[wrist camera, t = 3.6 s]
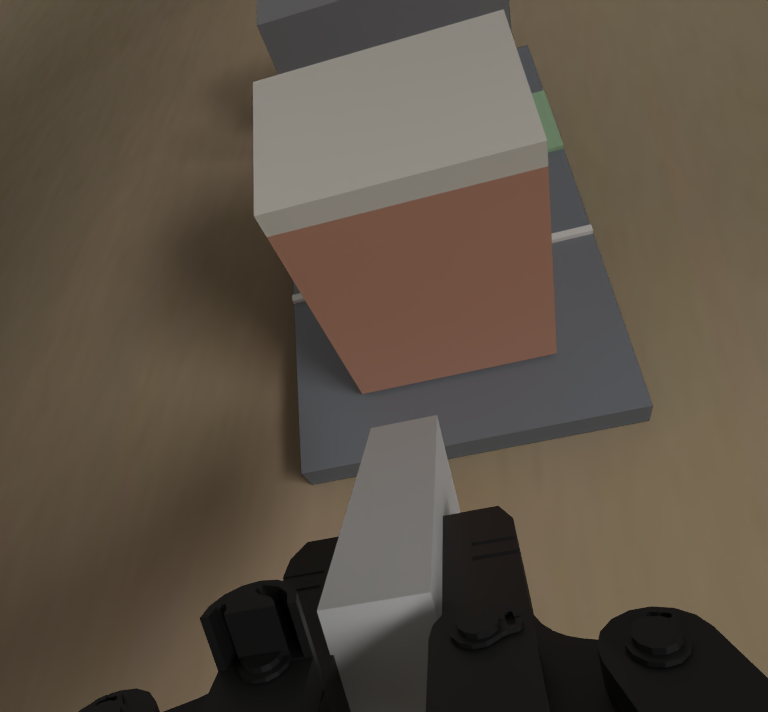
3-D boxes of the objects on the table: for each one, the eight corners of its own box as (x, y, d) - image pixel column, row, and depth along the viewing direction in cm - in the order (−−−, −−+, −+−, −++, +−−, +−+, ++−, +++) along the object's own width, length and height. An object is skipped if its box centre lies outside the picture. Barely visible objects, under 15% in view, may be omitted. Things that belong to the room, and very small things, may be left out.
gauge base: (528, 66, 33) (518, -88, 27) (649, 420, 23) (676, 304, 17) (294, 131, 35) (234, 1, 28) (312, 484, 25) (227, 401, 19)
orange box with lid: (526, 242, 26) (503, 9, 18) (557, 353, 23) (547, 140, 15) (351, 284, 27) (253, 81, 19) (362, 394, 24) (253, 216, 16)
